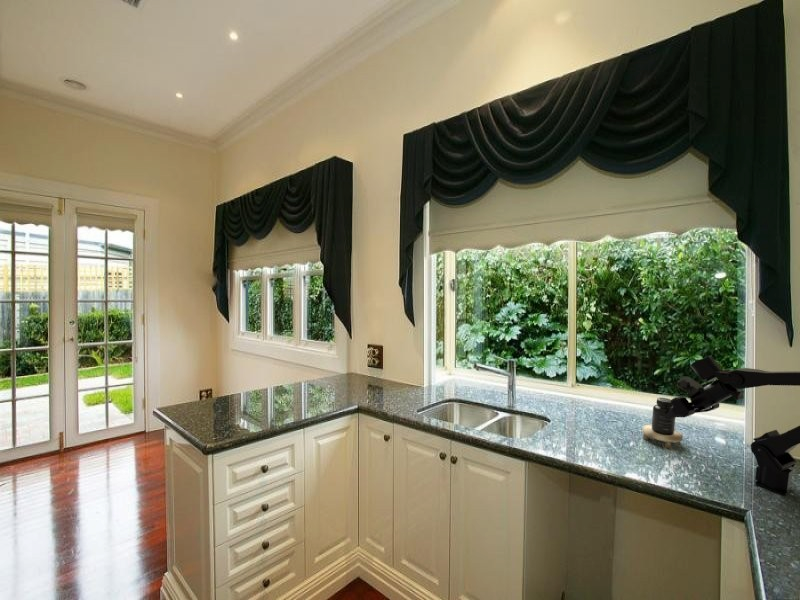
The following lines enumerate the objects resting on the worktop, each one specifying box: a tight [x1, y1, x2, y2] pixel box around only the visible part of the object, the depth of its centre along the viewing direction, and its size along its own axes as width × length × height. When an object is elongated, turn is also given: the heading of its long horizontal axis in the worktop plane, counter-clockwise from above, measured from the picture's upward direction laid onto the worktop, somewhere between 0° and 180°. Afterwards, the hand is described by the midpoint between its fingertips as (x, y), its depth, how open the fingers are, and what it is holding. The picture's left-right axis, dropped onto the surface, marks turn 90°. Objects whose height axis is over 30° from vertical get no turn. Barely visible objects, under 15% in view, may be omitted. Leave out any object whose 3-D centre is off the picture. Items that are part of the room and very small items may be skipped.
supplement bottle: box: [651, 397, 676, 435], centre depth 137 cm, size 7×7×12 cm
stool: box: [641, 424, 684, 449], centre depth 138 cm, size 12×12×4 cm
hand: (675, 414), depth 134 cm, fingers open, 9 cm apart
